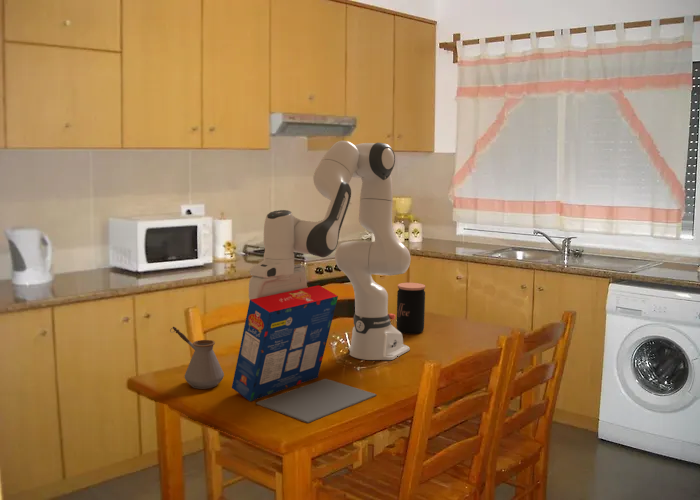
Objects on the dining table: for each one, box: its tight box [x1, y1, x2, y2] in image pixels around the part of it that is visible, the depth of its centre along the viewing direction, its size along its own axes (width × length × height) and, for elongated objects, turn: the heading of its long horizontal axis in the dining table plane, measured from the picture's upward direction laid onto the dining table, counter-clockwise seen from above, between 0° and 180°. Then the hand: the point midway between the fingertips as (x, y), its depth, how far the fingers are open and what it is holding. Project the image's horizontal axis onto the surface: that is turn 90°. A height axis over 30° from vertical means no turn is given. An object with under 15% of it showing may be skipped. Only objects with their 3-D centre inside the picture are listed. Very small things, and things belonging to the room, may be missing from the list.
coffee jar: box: [395, 282, 426, 335], centre depth 277 cm, size 11×11×18 cm
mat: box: [255, 378, 377, 424], centre depth 202 cm, size 28×20×1 cm
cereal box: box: [231, 284, 339, 402], centre depth 208 cm, size 28×8×28 cm, turn 140°
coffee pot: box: [169, 326, 225, 390], centre depth 215 cm, size 21×12×15 cm, turn 49°
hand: (278, 313), depth 209 cm, fingers closed
